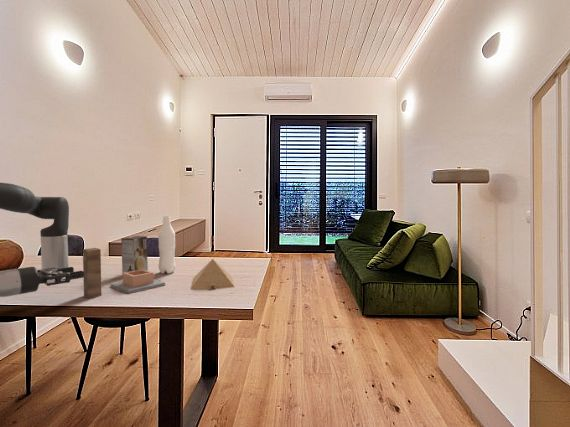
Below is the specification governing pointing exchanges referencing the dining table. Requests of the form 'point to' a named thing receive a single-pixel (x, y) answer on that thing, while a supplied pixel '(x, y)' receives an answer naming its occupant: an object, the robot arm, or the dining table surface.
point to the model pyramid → (212, 277)
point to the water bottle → (166, 247)
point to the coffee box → (134, 253)
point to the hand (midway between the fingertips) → (78, 271)
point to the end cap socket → (137, 281)
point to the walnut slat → (92, 272)
